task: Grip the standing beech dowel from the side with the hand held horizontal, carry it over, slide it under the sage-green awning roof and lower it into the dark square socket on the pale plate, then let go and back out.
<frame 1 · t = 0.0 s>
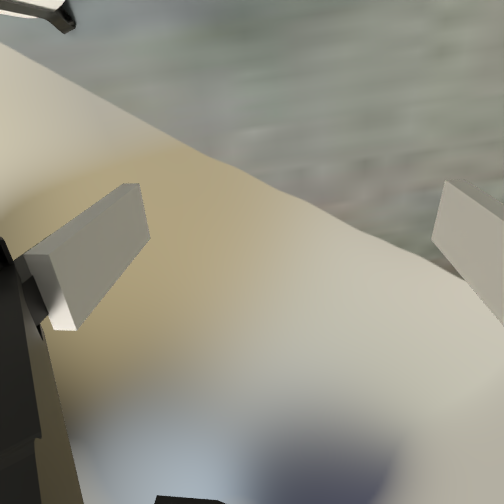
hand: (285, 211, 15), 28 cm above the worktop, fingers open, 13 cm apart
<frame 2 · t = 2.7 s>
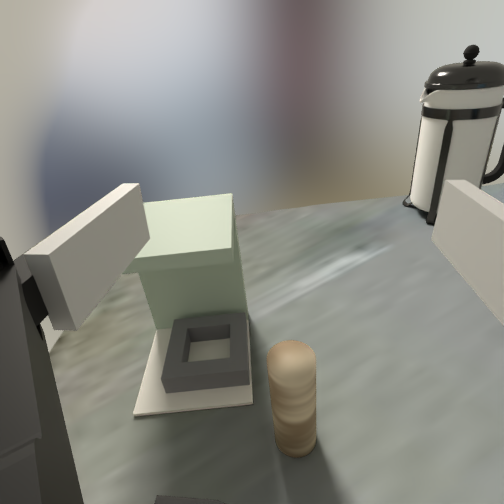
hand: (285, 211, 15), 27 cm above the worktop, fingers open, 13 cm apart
coffee press: (444, 210, 72), on the worktop
peg: (295, 436, 33), on the worktop
awning socket: (210, 358, 43), on the worktop
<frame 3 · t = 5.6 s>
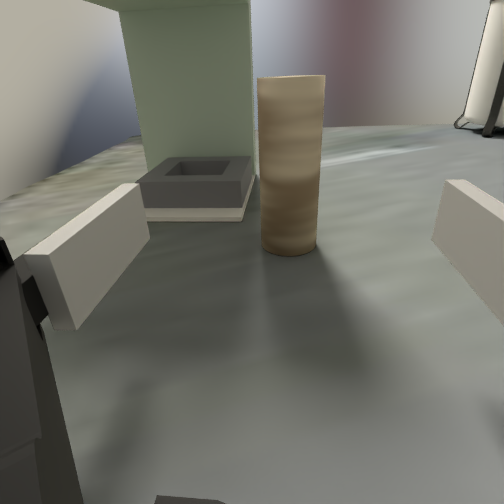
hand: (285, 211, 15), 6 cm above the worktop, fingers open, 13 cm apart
peg: (288, 243, 25), on the worktop
awning socket: (202, 195, 36), on the worktop
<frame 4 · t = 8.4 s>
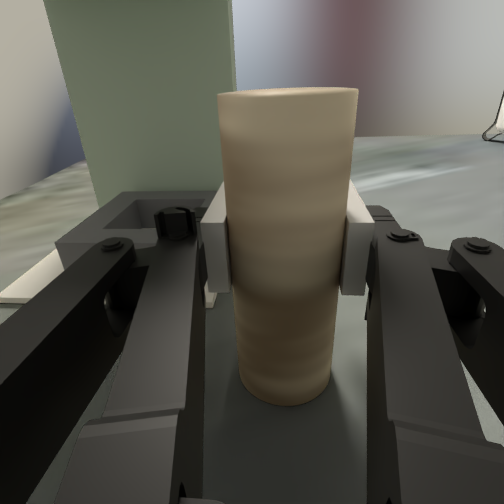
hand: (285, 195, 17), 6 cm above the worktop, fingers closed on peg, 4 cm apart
peg: (284, 366, 15), on the worktop, touching gripper
awning socket: (165, 248, 25), on the worktop
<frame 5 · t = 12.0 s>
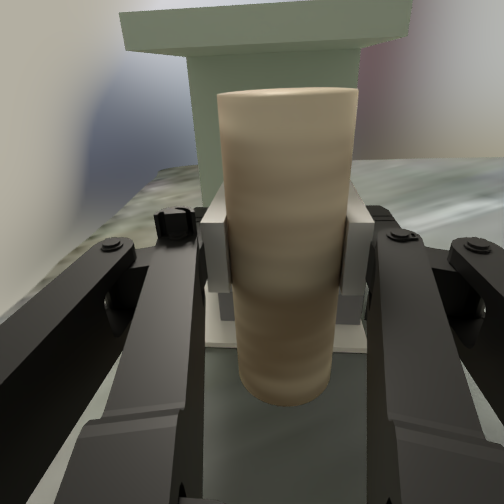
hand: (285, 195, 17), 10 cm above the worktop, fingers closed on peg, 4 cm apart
peg: (284, 366, 15), point 4 cm above the worktop, touching gripper
awning socket: (288, 288, 28), on the worktop
when the fingers open (8 cm above the worktop, at t = 15.7 s): peg drops 2 cm, resting on awning socket.
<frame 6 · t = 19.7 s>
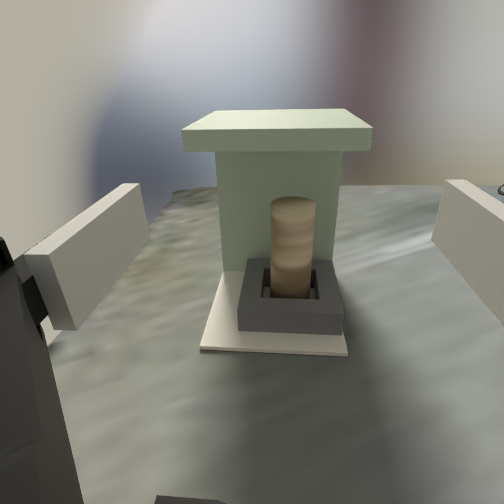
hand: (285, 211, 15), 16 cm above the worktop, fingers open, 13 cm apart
peg: (289, 302, 36), resting on awning socket
awning socket: (288, 305, 36), on the worktop
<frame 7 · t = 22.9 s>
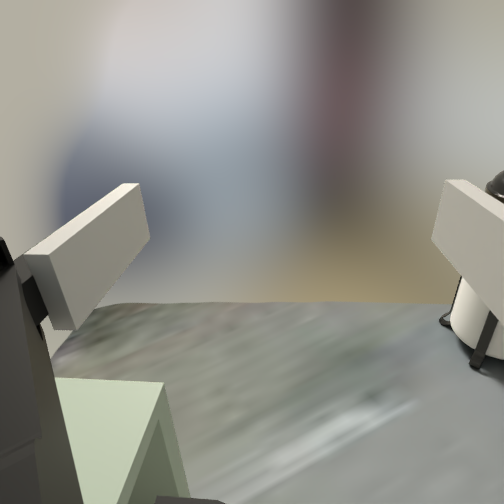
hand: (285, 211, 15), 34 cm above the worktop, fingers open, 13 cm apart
coffee press: (495, 341, 54), on the worktop
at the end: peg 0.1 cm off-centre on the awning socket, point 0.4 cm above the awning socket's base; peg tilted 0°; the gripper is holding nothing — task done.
